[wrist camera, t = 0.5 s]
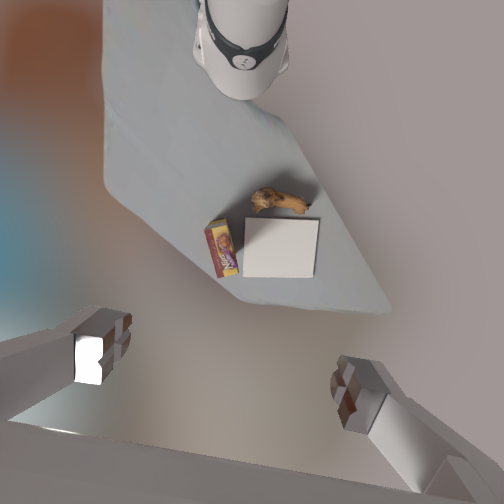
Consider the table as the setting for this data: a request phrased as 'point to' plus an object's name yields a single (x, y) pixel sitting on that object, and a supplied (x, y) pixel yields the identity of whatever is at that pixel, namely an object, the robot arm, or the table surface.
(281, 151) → the table surface
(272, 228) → the flat white rectangular board
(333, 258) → the table surface
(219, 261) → the candy box
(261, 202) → the lion figurine
